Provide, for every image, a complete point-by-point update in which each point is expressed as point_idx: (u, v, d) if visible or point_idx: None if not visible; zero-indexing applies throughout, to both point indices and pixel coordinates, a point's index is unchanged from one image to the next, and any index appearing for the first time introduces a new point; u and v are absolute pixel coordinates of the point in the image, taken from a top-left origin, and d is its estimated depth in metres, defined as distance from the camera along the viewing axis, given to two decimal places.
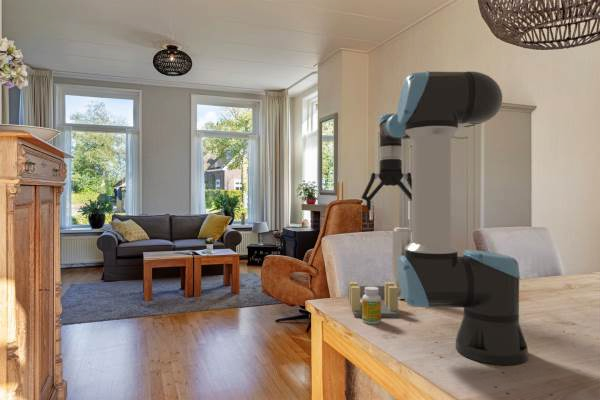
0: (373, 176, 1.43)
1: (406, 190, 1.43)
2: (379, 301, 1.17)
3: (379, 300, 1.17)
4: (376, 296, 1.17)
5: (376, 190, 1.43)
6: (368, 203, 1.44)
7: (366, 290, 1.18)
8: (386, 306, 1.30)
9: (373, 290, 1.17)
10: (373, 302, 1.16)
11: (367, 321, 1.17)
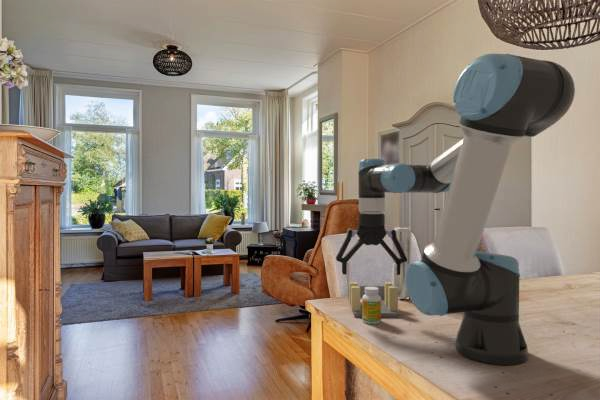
0: (350, 234, 1.17)
1: (390, 251, 1.17)
2: (379, 301, 1.17)
3: (379, 300, 1.17)
4: (376, 296, 1.17)
5: (353, 251, 1.18)
6: (344, 266, 1.18)
7: (366, 290, 1.18)
8: (386, 306, 1.30)
9: (373, 290, 1.17)
10: (373, 302, 1.16)
11: (367, 321, 1.17)
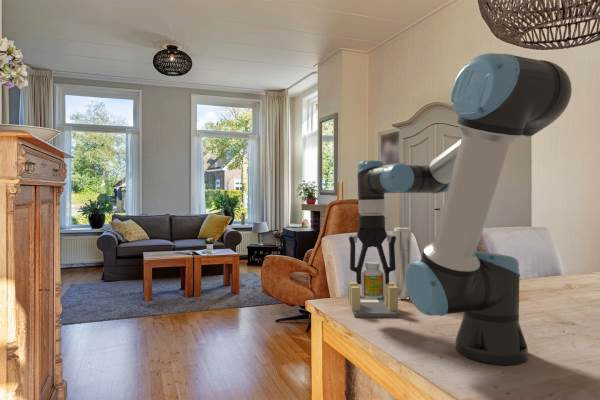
0: (352, 240, 1.17)
1: (383, 257, 1.17)
2: (380, 275, 1.16)
3: (380, 275, 1.16)
4: (377, 270, 1.16)
5: (362, 257, 1.17)
6: (358, 276, 1.17)
7: (367, 265, 1.17)
8: (386, 306, 1.30)
9: (374, 264, 1.16)
10: (374, 276, 1.15)
11: (368, 296, 1.16)
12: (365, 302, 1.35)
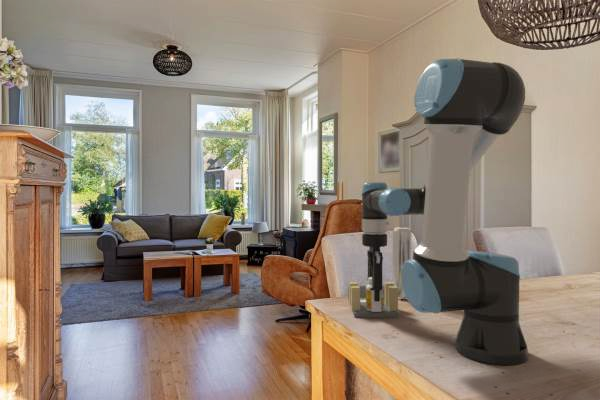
0: None
1: (372, 274, 1.22)
2: (370, 290, 1.23)
3: (369, 290, 1.24)
4: (370, 285, 1.24)
5: (369, 271, 1.28)
6: None
7: None
8: (386, 306, 1.30)
9: (368, 279, 1.25)
10: (366, 289, 1.25)
11: None
12: (365, 302, 1.35)
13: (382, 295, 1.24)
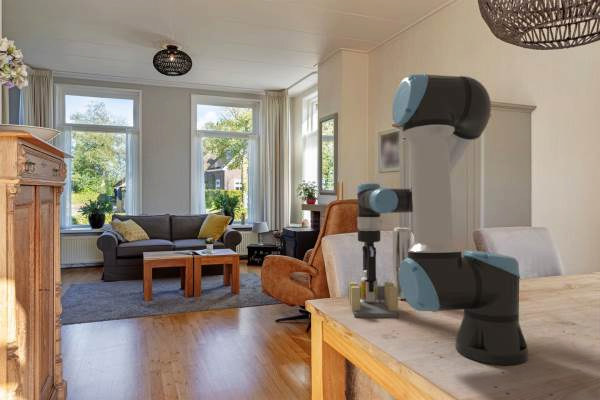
0: None
1: (366, 267, 1.34)
2: (365, 282, 1.35)
3: (364, 281, 1.35)
4: (364, 277, 1.36)
5: (364, 264, 1.40)
6: None
7: None
8: (386, 306, 1.30)
9: (363, 271, 1.37)
10: (361, 281, 1.37)
11: None
12: (365, 302, 1.35)
13: (376, 286, 1.35)
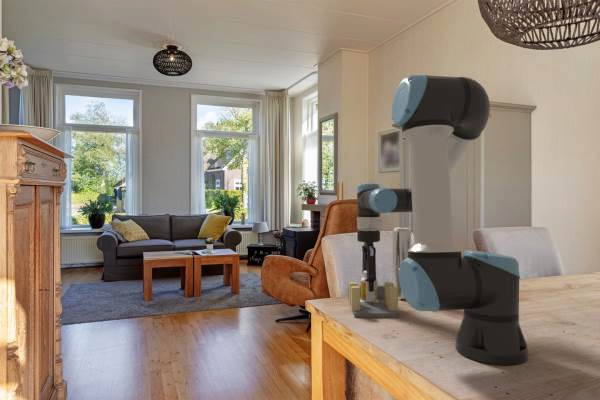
0: None
1: (366, 267, 1.34)
2: (364, 283, 1.35)
3: (364, 282, 1.35)
4: (364, 278, 1.36)
5: (363, 264, 1.41)
6: None
7: None
8: (386, 306, 1.30)
9: (363, 272, 1.37)
10: (361, 281, 1.37)
11: None
12: (365, 302, 1.35)
13: (376, 287, 1.36)
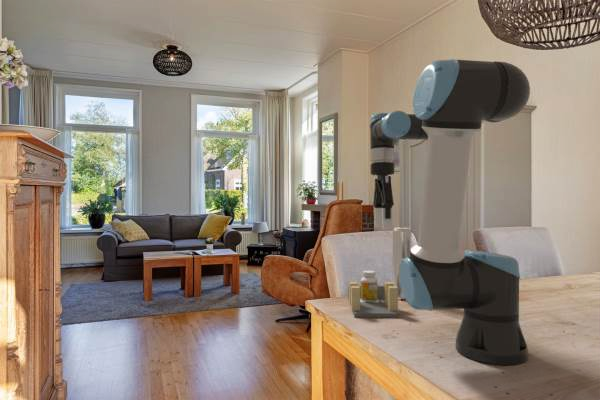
0: None
1: (382, 196, 1.27)
2: (364, 283, 1.35)
3: (364, 282, 1.35)
4: (364, 278, 1.36)
5: (375, 196, 1.37)
6: None
7: None
8: (386, 306, 1.30)
9: (363, 272, 1.37)
10: (361, 281, 1.37)
11: None
12: (365, 302, 1.35)
13: (376, 287, 1.36)
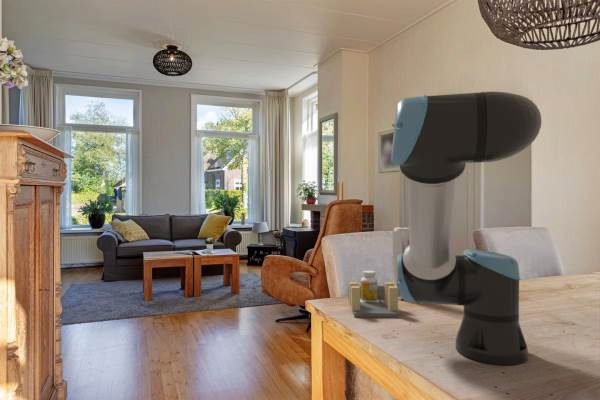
0: None
1: None
2: (364, 283, 1.35)
3: (364, 282, 1.35)
4: (364, 278, 1.36)
5: None
6: None
7: None
8: (386, 306, 1.30)
9: (363, 272, 1.37)
10: (361, 281, 1.37)
11: None
12: (365, 302, 1.35)
13: (376, 287, 1.36)
